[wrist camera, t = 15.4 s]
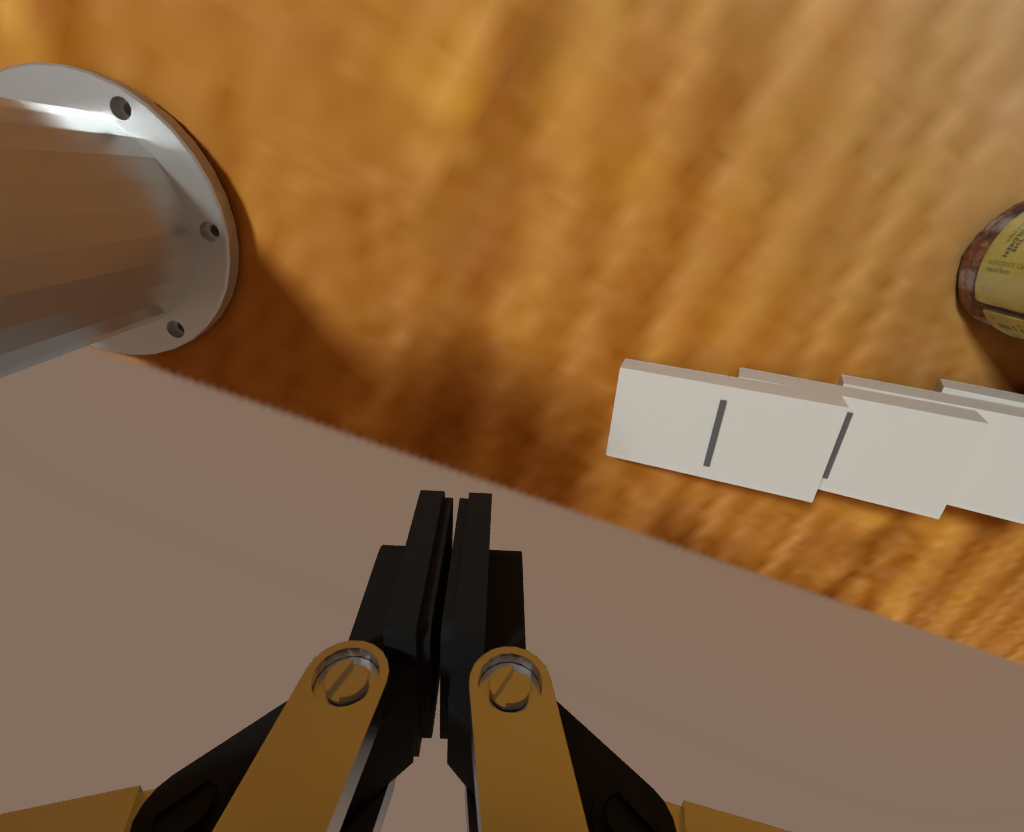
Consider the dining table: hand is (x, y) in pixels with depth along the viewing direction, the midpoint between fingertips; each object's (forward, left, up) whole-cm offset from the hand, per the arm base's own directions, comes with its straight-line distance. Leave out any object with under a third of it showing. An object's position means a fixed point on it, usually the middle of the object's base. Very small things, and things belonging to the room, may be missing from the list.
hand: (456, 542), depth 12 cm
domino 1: (+6, -3, -15) cm, 16 cm away
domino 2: (+12, -3, -15) cm, 20 cm away
